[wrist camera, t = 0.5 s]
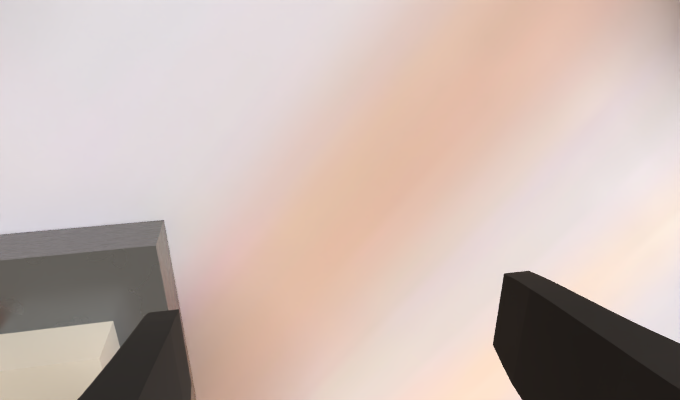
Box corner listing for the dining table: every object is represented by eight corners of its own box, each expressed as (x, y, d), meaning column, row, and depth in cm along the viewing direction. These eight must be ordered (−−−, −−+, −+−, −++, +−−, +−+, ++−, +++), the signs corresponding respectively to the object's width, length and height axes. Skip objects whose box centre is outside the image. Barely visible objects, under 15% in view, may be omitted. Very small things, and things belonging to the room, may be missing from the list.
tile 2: (133, 400, 20) (122, 442, 18) (26, 415, 19) (4, 460, 17) (113, 320, 18) (99, 358, 16) (-5, 334, 18) (-33, 375, 16)
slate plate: (197, 407, 23) (194, 443, 21) (-87, 450, 21) (-117, 494, 19) (163, 220, 19) (155, 245, 17) (-194, 251, 17) (-245, 283, 15)
